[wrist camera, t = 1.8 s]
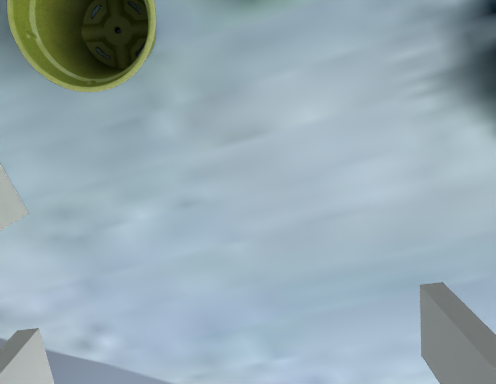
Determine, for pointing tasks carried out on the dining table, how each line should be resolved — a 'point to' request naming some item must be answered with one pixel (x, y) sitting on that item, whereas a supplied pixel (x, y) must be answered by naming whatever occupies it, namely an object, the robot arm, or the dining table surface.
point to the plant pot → (83, 39)
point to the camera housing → (9, 202)
